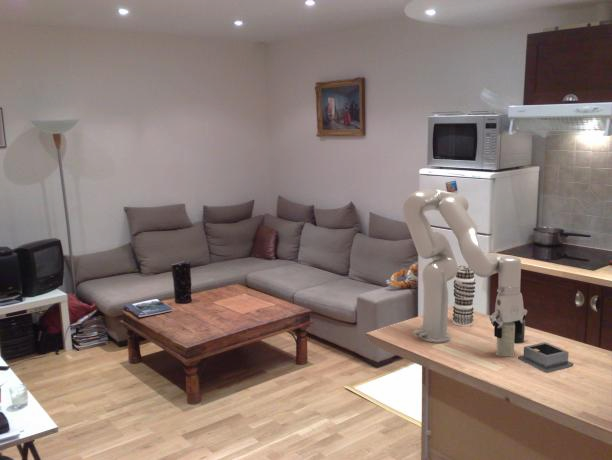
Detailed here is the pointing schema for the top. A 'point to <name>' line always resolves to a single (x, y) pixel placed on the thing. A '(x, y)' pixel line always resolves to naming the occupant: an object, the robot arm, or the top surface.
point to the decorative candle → (463, 296)
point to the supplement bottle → (520, 337)
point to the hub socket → (545, 357)
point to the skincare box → (506, 340)
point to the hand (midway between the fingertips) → (508, 335)
